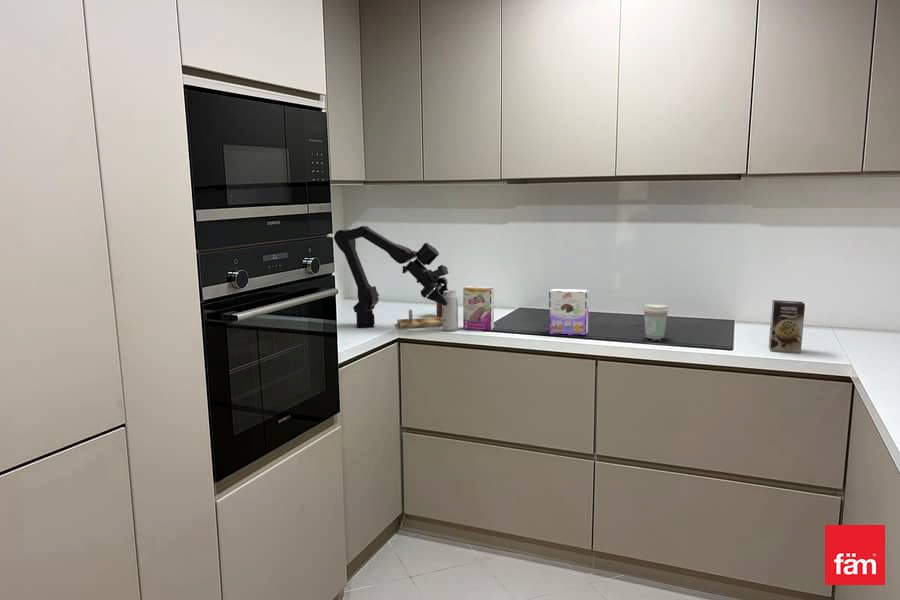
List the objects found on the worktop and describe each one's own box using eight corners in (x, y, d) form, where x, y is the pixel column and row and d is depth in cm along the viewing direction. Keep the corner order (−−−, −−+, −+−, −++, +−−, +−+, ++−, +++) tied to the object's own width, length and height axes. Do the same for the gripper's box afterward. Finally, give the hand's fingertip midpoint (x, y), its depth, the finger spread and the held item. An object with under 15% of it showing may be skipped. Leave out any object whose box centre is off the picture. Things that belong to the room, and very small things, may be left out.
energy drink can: (441, 328, 255) (441, 290, 252) (457, 328, 255) (457, 290, 253) (442, 332, 249) (442, 292, 247) (458, 331, 249) (458, 292, 247)
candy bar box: (462, 329, 253) (462, 287, 250) (466, 327, 257) (466, 285, 255) (491, 331, 249) (491, 288, 247) (494, 328, 254) (494, 286, 251)
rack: (400, 328, 255) (400, 323, 255) (397, 324, 264) (397, 319, 264) (446, 326, 259) (446, 321, 259) (441, 322, 268) (441, 317, 268)
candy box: (588, 333, 245) (589, 289, 242) (585, 336, 239) (587, 291, 237) (551, 331, 249) (552, 287, 247) (548, 334, 244) (548, 290, 241)
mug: (432, 316, 281) (431, 292, 279) (451, 314, 284) (450, 291, 282) (442, 321, 270) (441, 296, 268) (461, 319, 273) (461, 295, 271)
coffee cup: (639, 336, 239) (640, 303, 237) (663, 336, 238) (664, 303, 236) (645, 341, 230) (646, 307, 228) (670, 341, 230) (671, 307, 228)
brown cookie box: (770, 351, 215) (773, 302, 212) (768, 347, 221) (771, 299, 218) (801, 353, 211) (805, 304, 209) (798, 349, 217) (802, 300, 215)
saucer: (410, 324, 258) (410, 310, 257) (408, 322, 263) (408, 308, 262) (412, 324, 258) (412, 310, 257) (410, 322, 263) (410, 308, 263)
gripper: (428, 261, 240) (458, 291, 239) (441, 256, 258) (469, 284, 257) (408, 282, 243) (437, 312, 242) (422, 276, 261) (450, 304, 260)
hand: (449, 302), depth 250 cm, fingers open, 9 cm apart
